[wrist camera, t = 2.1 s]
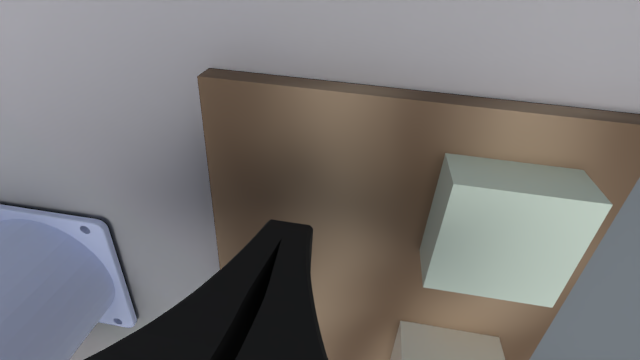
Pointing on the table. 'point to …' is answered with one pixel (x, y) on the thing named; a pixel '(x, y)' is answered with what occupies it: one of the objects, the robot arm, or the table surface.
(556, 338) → the tray
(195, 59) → the table surface
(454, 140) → the walnut board
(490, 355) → the cream tile
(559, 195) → the sage tile
